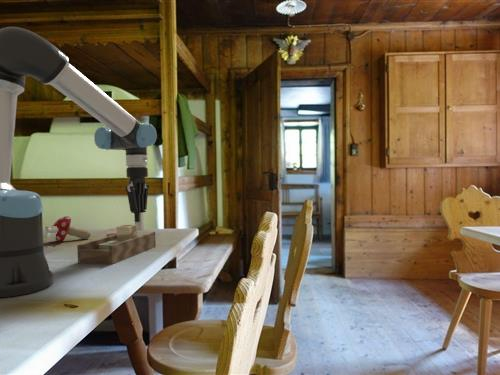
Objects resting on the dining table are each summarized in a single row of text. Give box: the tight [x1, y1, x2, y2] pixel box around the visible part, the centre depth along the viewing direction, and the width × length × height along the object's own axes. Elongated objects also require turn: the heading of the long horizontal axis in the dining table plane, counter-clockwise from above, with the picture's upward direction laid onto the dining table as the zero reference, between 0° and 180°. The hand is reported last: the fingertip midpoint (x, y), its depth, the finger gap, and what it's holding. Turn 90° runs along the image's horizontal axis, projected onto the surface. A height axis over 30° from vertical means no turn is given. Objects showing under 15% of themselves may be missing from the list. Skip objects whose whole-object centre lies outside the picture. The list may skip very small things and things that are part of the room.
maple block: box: [115, 224, 139, 241], centre depth 130 cm, size 5×5×5 cm
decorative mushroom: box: [52, 215, 91, 243], centre depth 156 cm, size 11×11×15 cm
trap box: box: [76, 231, 157, 265], centre depth 126 cm, size 27×12×6 cm, turn 166°
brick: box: [106, 227, 117, 237], centre depth 155 cm, size 17×8×5 cm, turn 16°
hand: (139, 230), depth 138 cm, fingers closed
